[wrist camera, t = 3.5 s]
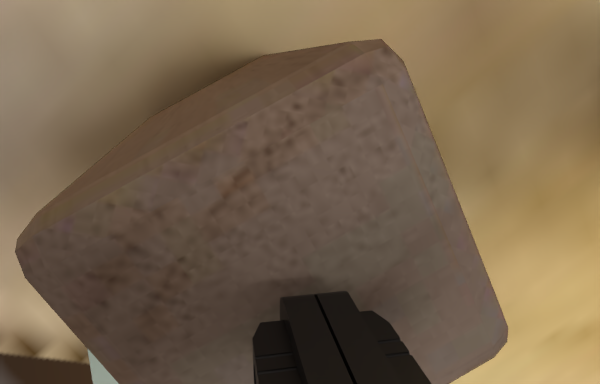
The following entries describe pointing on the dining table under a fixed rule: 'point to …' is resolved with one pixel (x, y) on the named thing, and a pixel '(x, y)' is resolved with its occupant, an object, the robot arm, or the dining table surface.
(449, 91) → the dining table surface
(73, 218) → the wooden block
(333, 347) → the robot arm
